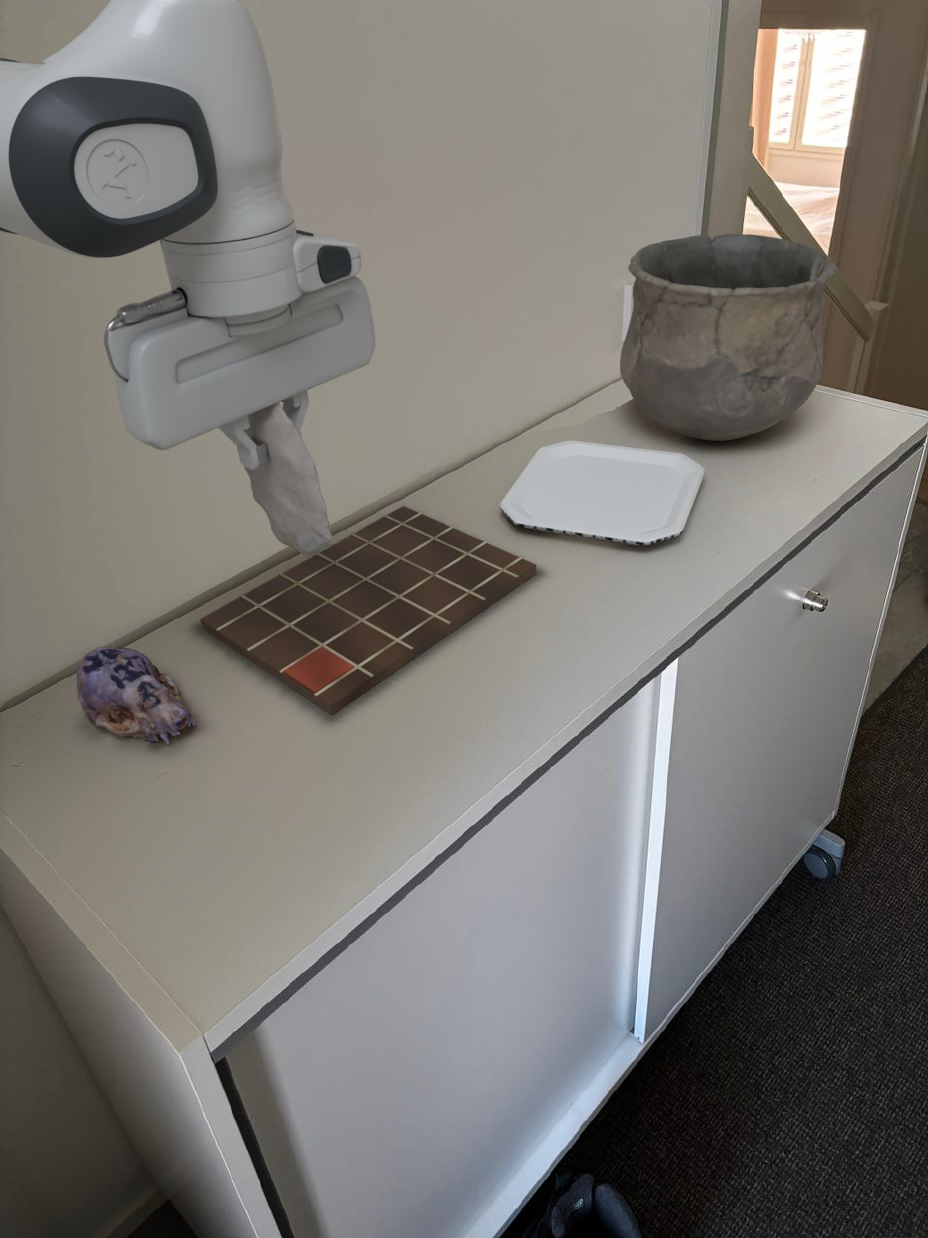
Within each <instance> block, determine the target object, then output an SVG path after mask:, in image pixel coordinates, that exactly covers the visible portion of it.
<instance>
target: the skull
mask: <svg viewBox="0 0 928 1238" xmlns="http://www.w3.org/2000/svg"><path fill="white" fill-rule="evenodd" d="M75 674H76V675H75V676H76V685H77V687H76V688H77V699H78V703H79V705H80V706H81V708H82V710H83V711H85V717H86V718H87V719H89V720H90V721H91V722H92V724H93V725H94V726H95V727H97V728H104V729H106V731H109V732H110V733H112V734H113V735H115V736H119V737H132V738H133V737H134V738H139V739H141V741H145V740H147V741H150V742H159V741H160V740H159V738H158V735H159V736H160V739H162V740H163V741H164V742H165V743H166V744H167V745H170V740H169V737H168V733H169V734H171V735H172V736H173V737H175V736H176V735H181V733H180V731H181V730H182V729H185V728H186V727H187V726H188V728H190V727H191V725H192V726H193V727H195V725H196V721H195V719H194V717H193V715H192V713H191V712H190V710H189V708H188V707H187V706H186V704H185V703H184V702H183V701H182V699H181V695H182V694H181V690H180V688H179V686H178V685H177V683H176V682H175V681H174V679H172V678H171V676H170V675H169V674H168V673H161V672H160V671H159V669H158V667H157V666H156V665H155V664H153V662H152V661H151V660H150V658H149V657H148V656H147V655H145V654H144V653H143V652H140V651H138V649H135V648H130V647H129V648H128V647H121V646H119V647H114V646H99V647H95V648H94V649H93V650H91V651H89V652H88V653H86V654H84V656H83V657H82V659H81V662H80V664H79V666H78V668H77V671H76V673H75ZM164 684H167V686H169V687H170V688H171V690H173V691H170V689H168V688H167V687H166V685H164ZM111 718H112V720H113V719H114V720H115V721H111V720H110V719H111Z"/></svg>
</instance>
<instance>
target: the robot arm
mask: <svg viewBox="0 0 928 1238" xmlns="http://www.w3.org/2000/svg"><path fill="white" fill-rule="evenodd" d="M263 47H264V46H263V45H262V41H261V38H260V35H259V33H258V29H257V26H256V23H254V20H253V17H252V16H251V13H250V12H249V10H248V9H247V6H246V5H245V4H244V3H243V2H242V1H241V0H109V1H108V3H107V4H106V6H105V7H104V8H103V9H102V10H101V12H100V13H99V14H98V15H97V17H95V19H94V20H93V21H92V22H91V23H90V24H89V25H88V26H87V27H86V28H85V29H84V30H82V32H81V33H80V34H79V35H77V36H76V37H75V38H74V39H73V40H71V41H70V42H69V43H68V44H66V45H64V47H62V48H60V49H59V50H58V51H56V52H55V53H53V54H51V55H50V56H48V57H46V58H44V59H42V61H41V62H42V63H43V64H39V63H30V62H29V63H28V62H22V61H19V60H14V59H9V58H5V57H0V232H3V233H9V234H13V235H19V236H21V237H24V238H27V239H30V240H32V241H36V242H38V243H40V244H42V245H43V244H44V245H47V246H49V247H51V248H54V249H58V250H59V251H60V250H61V251H63V252H66V253H69V254H72V255H75V256H79V257H85V258H92V259H93V258H94V259H105V258H106V259H107V258H108V259H109V258H116V257H120V256H125V255H128V254H130V253H133V252H136V251H138V250H140V249H142V248H145V247H147V246H150V245H152V244H155V243H157V242H159V244H160V248H161V252H162V256H163V259H164V264H165V269H166V272H167V273H166V274H167V277H168V282H169V285H170V289H171V290H169V291H167V292H164V293H161V294H158V295H155V296H153V297H151V298H149V299H147V300H143V301H141V302H132V303H129V304H126V305H124V306H121V307H120V308H118V309H117V310H116V315H115V316H114V317H113V318H112V319H110V320H109V322H108V324H107V325H106V328H105V330H104V332H103V335H102V342H103V346H104V350H105V353H106V356H107V360H108V363H109V366H110V368H111V369H112V371H113V373H114V379H115V386H116V387H115V388H116V392H117V398H118V403H119V409H120V413H121V417H122V421H123V425H124V428H125V430H126V431H127V433H128V434H129V435H130V436H132V438H134V439H136V440H138V441H139V442H141V443H142V444H145V445H147V446H149V447H151V448H154V449H156V450H159V451H166V450H169V449H171V448H173V447H176V446H179V445H181V444H183V443H186V442H188V441H191V440H193V439H195V438H197V437H200V436H202V435H205V434H207V433H209V432H212V431H214V430H216V429H219V430H220V431H221V432H222V433H223V434H224V436H226V437H227V438H228V439H229V440H230V442H232V443H233V444H234V445H236V449H237V452H238V457H239V461H240V464H241V465H242V466H243V468H244V467H246V468H248V469H250V470H255V469H257V468H259V467H261V466H263V465H265V464H267V463H269V461H270V460H269V456H268V455H267V452H268V450H267V445H266V443H264V442H262V441H258V440H257V439H255V438H253V437H251V438H249V437H248V435H247V434H246V433H245V432H244V431H243V429H244V430H246V429H248V428H249V427H250V425H249V420H248V415H250V414H252V413H254V412H257V411H259V410H261V409H264V408H266V407H268V406H271V405H273V404H276V403H278V402H280V403H282V407H281V409H282V410H284V411H285V413H286V415H287V416H288V418H289V419H290V420H291V421H292V422H293V423H294V426H295V428H296V429H297V431H298V433H299V434H300V436H301V438H302V439H303V437H302V430H301V428H302V426H303V423H304V421H305V418H306V415H307V412H308V411H307V410H308V408H309V404H310V400H309V393H308V390H311V389H313V388H315V387H318V386H321V385H323V384H325V383H328V382H330V381H332V380H335V379H337V378H340V377H342V376H345V375H347V374H349V373H351V372H354V371H356V370H358V369H361V368H363V367H366V366H367V365H369V364H370V363H371V360H372V358H373V356H374V353H375V350H376V333H375V325H374V319H373V318H374V317H373V312H372V306H371V301H370V296H369V293H368V290H367V288H366V285H365V284H364V282H363V281H362V279H361V278H359V277H358V276H356V275H358V274H359V273H360V271H361V268H362V255H361V250H360V248H359V246H358V245H357V244H355V243H352V242H350V241H346V240H343V239H339V238H336V237H332V236H328V235H322V234H317V233H313V232H309V231H305V230H301V229H297V228H296V222H295V221H296V220H295V215H294V211H293V208H292V205H291V203H290V201H289V199H288V196H287V194H286V192H285V191H286V190H285V187H284V184H283V179H282V160H283V139H282V133H281V126H280V121H279V115H278V114H279V113H278V109H277V104H276V98H275V93H274V88H273V82H272V79H271V74H270V70H269V66H268V62H267V57H266V55H265V50H264V48H263ZM120 323H121V324H120ZM118 324H119V325H118Z"/></svg>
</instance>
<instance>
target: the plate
mask: <svg viewBox="0 0 928 1238" xmlns="http://www.w3.org/2000/svg"><path fill="white" fill-rule="evenodd" d="M705 474H706V469H705V468H704V467H703V466H701V465H700V464H699V463H698V462H696V461H694V460H693V459H692V458H691V457H689V456H687V455H686V454H684V453H680V452H672V451H665V450H664V451H663V450H656V449H649V448H641V447H640V448H639V447H631V446H624V445H623V446H622V445H613V444H605V443H597V442H588V441H579V440H565V441H561V442H557V443H552V444H550V445H545V446H542V447H540V448H538V449H537V450H536V452H535V453H534V454H533V456H532V457H531V459H530V460H529V461H528V463H527V464H526V465H525V467H524V469H523V470H522V471H521V473H520V474H519V476H518V477H517V479H516V480H515V481H514V483H513V484H512V486H511V487H510V488H509V489H508V492H506V494H505V496H503V498H502V500H500V501H501V502H500V503H499V509H500V511H501V512H502V513H503V514H504V515H505V516H506V518H508V519H509V520H510V521H511V523H513V524H514V525H516V526H517V527H521V528H525V529H529V530H534V531H538V532H545V533H550V534H556V535H557V534H558V535H563V536H569V537H576V538H577V537H578V538H583V539H590V540H595V541H601V542H602V541H603V542H608V543H615V544H621V545H628V546H648V545H652V544H656V543H659V542H663V541H665V540H666V541H667V540H669V539H672V538H675V537H679V536H681V534H683V533H684V532H683V531H684V529H685V527H686V524H687V521H688V519H689V516H690V514H691V511H692V508H693V507H694V506H693V505H694V503H695V501H696V499H697V497H698V496H697V495H698V493H699V490H700V488H701V486H702V483H703V480H704V477H705Z"/></svg>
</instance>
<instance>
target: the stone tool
mask: <svg viewBox="0 0 928 1238" xmlns="http://www.w3.org/2000/svg"><path fill="white" fill-rule="evenodd" d="M248 420H249V425H250V427H249V428H248V429H246V430H244V429H243V431H244V432H245V433H246V434H247V435H248V437H249V438H251V437H253V438H255V439H257V440H258V441H262V442H264V443H266V445H267V450H268V452H267V455H268V456H269V460H270V461H269V463H267V464H265V465H263V466H261V467H259V468H257V469H255V470H250V469H248V468H246V467H244V466H243V468H244V471H245V472H246V474H247V476H248V477H249V480H250V489H251V491H252V498H253V500H254V501H255V502H256V503H257V504H258V505H259V506H260V507H261V508H262V510H263V511H264V512H265V514H266V517H267V518H268V520H269V525H270V530H271V532H272V533H273V535H274V536H275V538H276V539H277V541H279V542H280V543H281V544H283V545H284V546H287V547H289V548H291V549H294V550H295V551H297V552H298V553H300V554H302V555H304V556H306V557H307V558H311V557H312V556H314V555H316V553H320V552H321V551H323V550H325V549H327V548H329V545H330V543H331V542H332V540H333V539H332V537H333V535H332V532H331V528H330V521H329V517H328V513H327V512H328V511H327V505H326V501H325V498H324V496H323V493H322V491H321V485H320V479H319V473H318V470H317V467H316V464H315V461H314V460H313V458H312V456H311V455H310V452H309V450H308V448H307V446H306V445H305V443H304V440H303V437H302V438H301V436H300V434H299V433H298V431H297V429H296V428H295V426H294V423H293V422H292V421H291V420H290V419H289V418H288V416H287V415H286V413H285V411H284V410H282V406H281V402H278V403H276V404H273V405H271V406H268V407H266V408H264V409H261V410H259V411H257V412H254V413H252V414H250V415H248Z"/></svg>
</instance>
